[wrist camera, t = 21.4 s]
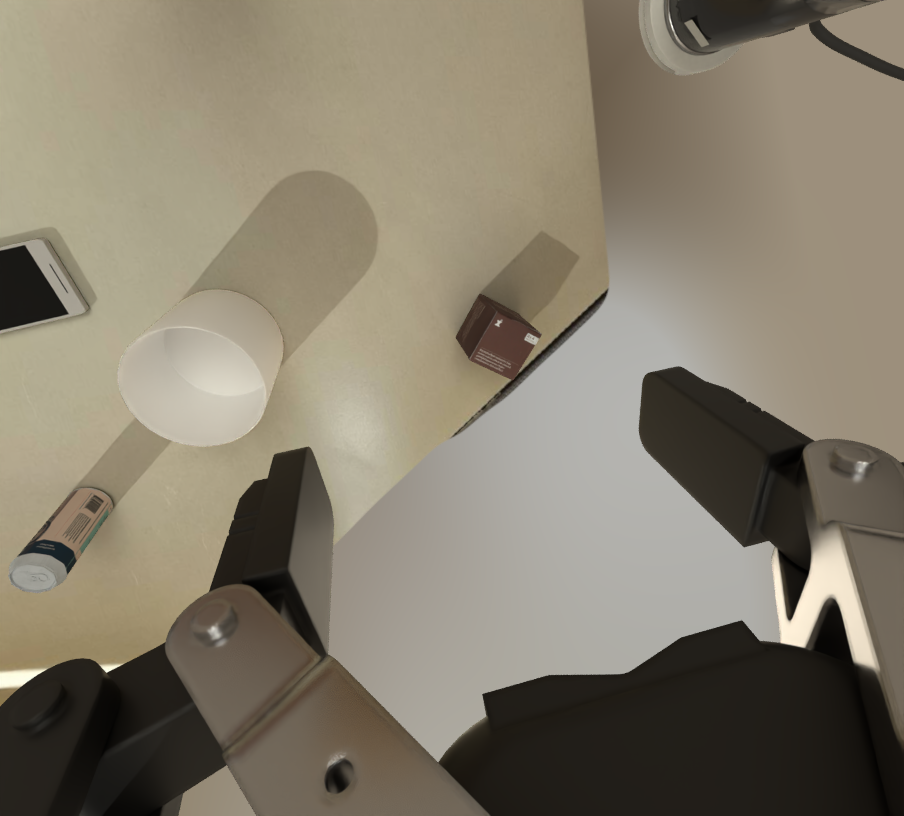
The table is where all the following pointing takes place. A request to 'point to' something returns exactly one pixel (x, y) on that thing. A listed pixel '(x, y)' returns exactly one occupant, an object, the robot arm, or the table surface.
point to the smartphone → (35, 286)
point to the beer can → (60, 541)
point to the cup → (203, 369)
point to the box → (497, 337)
